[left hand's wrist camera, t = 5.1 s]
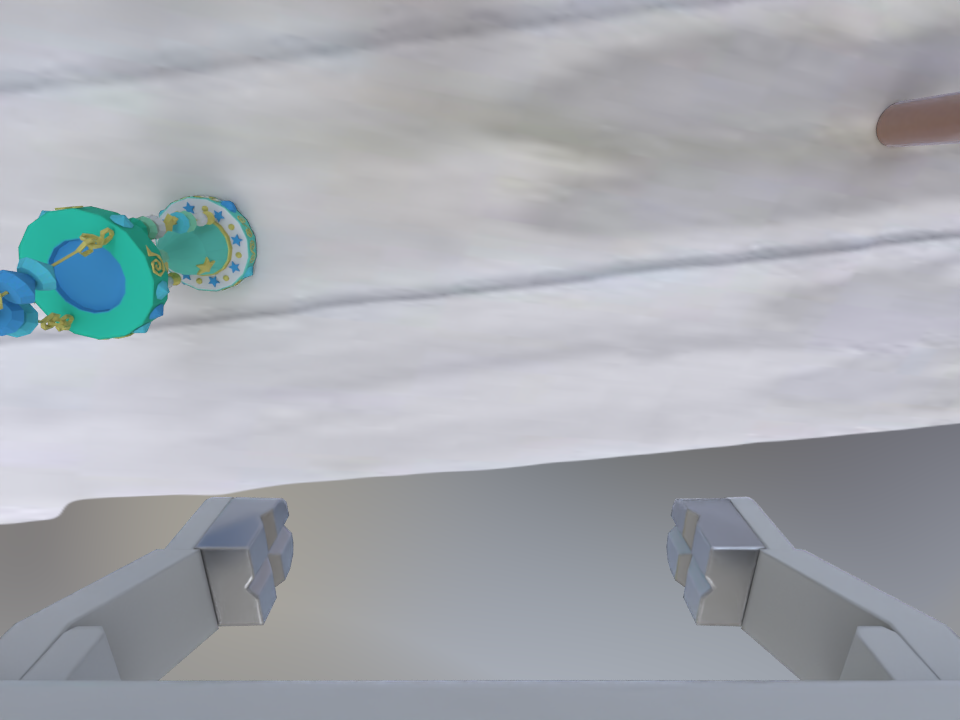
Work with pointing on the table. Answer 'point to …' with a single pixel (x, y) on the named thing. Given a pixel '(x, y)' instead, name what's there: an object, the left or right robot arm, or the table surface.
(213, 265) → the decorative hourglass
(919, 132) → the brown piece
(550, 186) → the table surface
